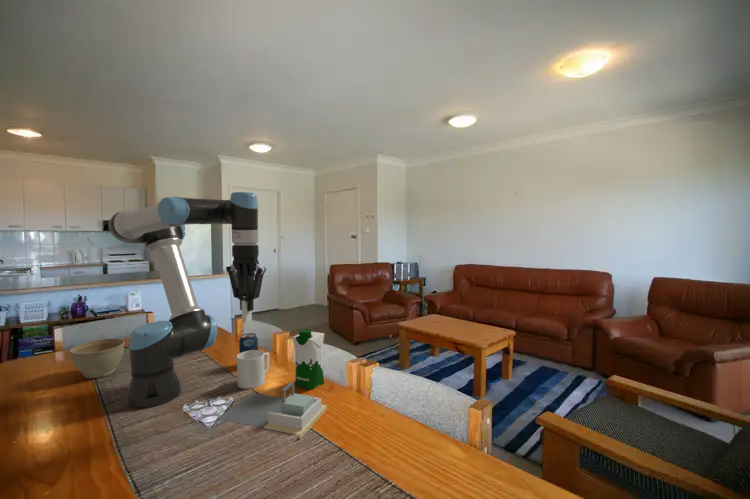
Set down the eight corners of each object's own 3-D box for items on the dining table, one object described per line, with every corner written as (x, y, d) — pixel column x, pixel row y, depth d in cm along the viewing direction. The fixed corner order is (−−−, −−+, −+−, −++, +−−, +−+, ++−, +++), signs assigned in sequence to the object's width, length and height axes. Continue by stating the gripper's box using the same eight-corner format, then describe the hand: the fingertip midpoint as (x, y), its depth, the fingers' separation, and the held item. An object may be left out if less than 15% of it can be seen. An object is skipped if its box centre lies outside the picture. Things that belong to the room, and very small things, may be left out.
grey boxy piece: (281, 420, 100) (280, 390, 99) (292, 409, 106) (292, 380, 105) (304, 424, 98) (303, 393, 97) (314, 413, 103) (313, 384, 103)
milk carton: (291, 389, 121) (289, 331, 120) (307, 379, 129) (306, 324, 128) (313, 394, 117) (311, 334, 116) (328, 383, 126) (327, 326, 124)
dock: (217, 423, 101) (216, 408, 101) (253, 397, 116) (252, 384, 116) (300, 439, 93) (299, 423, 93) (327, 409, 108) (326, 395, 108)
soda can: (255, 368, 139) (254, 338, 138) (237, 368, 139) (236, 338, 138) (261, 361, 146) (260, 332, 145) (244, 361, 146) (242, 332, 145)
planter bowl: (61, 379, 131) (59, 349, 131) (108, 363, 146) (107, 336, 146) (89, 386, 125) (87, 355, 125) (135, 368, 140) (134, 341, 140)
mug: (248, 394, 118) (247, 361, 117) (232, 388, 123) (231, 356, 122) (277, 381, 128) (276, 350, 127) (261, 375, 133) (260, 345, 132)
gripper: (218, 244, 107) (220, 322, 109) (255, 245, 103) (257, 326, 105) (235, 242, 115) (237, 316, 116) (271, 243, 110) (272, 319, 112)
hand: (247, 321), depth 111 cm, fingers closed
